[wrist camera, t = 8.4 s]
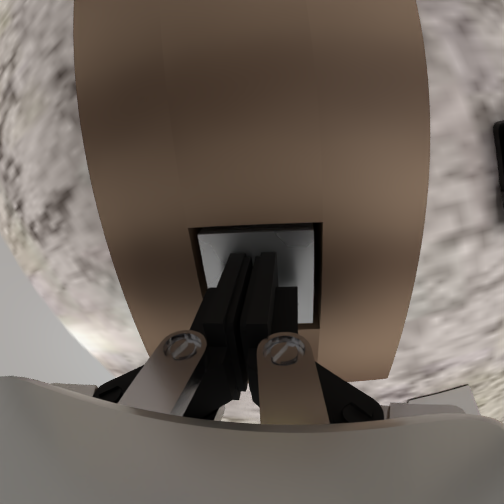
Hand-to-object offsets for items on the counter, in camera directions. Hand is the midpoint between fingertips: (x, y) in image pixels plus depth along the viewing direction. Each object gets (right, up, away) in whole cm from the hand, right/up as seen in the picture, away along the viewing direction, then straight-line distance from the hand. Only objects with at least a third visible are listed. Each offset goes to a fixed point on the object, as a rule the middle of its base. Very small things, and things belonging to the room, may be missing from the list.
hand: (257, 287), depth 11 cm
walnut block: (0, +9, +2) cm, 9 cm away
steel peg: (+1, +3, +5) cm, 6 cm away
